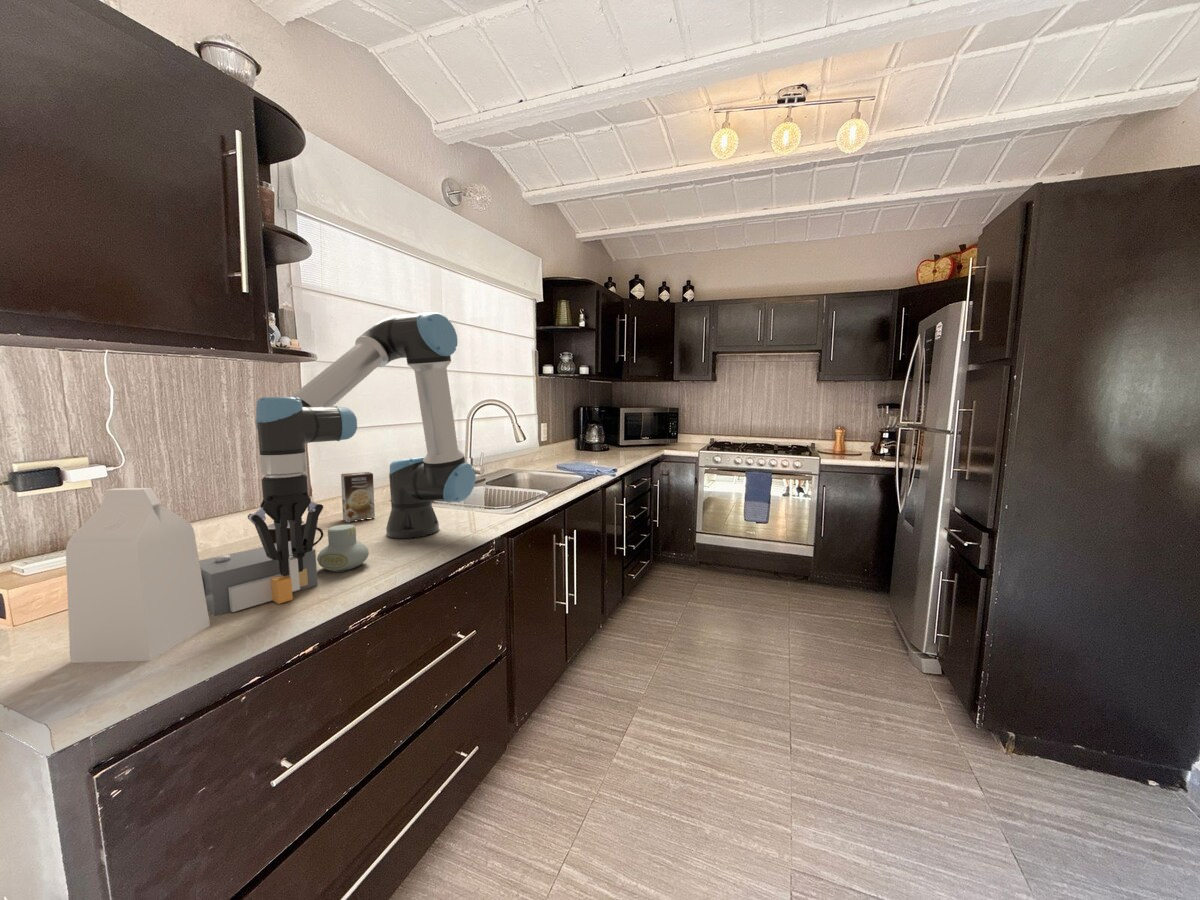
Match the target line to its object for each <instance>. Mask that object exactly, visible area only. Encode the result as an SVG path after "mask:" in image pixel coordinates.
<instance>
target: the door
mask: <svg viewBox="0 0 1200 900" xmlns="http://www.w3.org/2000/svg"><path fill="white" fill-rule="evenodd" d="M228 591H229V602H230V610H231V611H230V612H232V613H234V612H239V611H241V610H245V609H248V608H252V607H255V606H257V605H258V606H259V605H262V604H265V603H267V602H268V603H269V602H271V601H272V602H275V603H277V604H282V603H283V604H284V603H286V602H289V601H292V600H294V597H293V593H292V583H291V578H290V577H288V576H282V575H281V574H278V575H274V576H270V577H266V578H262V579H258V580H255V581H251V582H247V583H243V584H239V585H235V586H232V587H228Z"/></svg>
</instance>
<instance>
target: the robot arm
mask: <svg viewBox="0 0 1200 900" xmlns="http://www.w3.org/2000/svg"><path fill="white" fill-rule="evenodd" d="M354 343H355V345H354V346H352V347H351V348H350V349H349V350H347V351H346V352H345V353H343V355H341V356H339V358H337V359H336V360H335V361H334V362H332V363H331V364H330V365H329V366H328V367H326V368H325V369H323V370H322V371H321V372H320V373H319V374H317V375H316V376H315V377H313V378H312V379H311V380H310V381H308V382H307V383H306V384H305V385H303V386H302V387H301V388H300V389H299V390H297V391H295V392H294V394H292V395H291V396H265V397H260V398H258V400H256V405H255V406H256V407H255V417H256V418H255V427H256V430H257V439H258V448H259V449H258V450H259V462H260V463H259V464H260V474H261V475H263V477H262V478H261V488H262V489H261V490H262V491H261V493H262V501H261V504H260V508H259V509H258V510H256V511H255V512H254V513H249V514H248V515H247V519H248V520H249V521H250V522H251V523H252V525H254V527H255V530H256V532H257V534H258V536H259V540H260V542H261V545H262V547H264V550H265V552H266V555H267V557H268V558H270V559H273V560H279V570H280V574H281V575H282V576H288V577H290V578H291V583H292V592H293V591H296V590H300V583H299V572H302V571H303V557H304V556H305V553H307V552H310V551H312V549H314V546H313V544H314V543H315V538H316V531H317V530H316V528H317V527H318V521H319V516H320V515H321V513H322V511H323V509H324V505H323V504H320V503H317V502H314V501H313V500H312V499H311V497H310V495H309V493H308V491H309V487H308V476H307V474H305V472H307V460H306V444H309V443H323V442H335V441H336V442H341V441H344V440H350V439H352V437H354V436H355V434H356V433H357V431H358V418H357V416H356V414H355V413H354V411H353V410H352V409H350V408H349V407H345V406H337V405H336V404H337V403H339V401H341V400H342V399H343V398H344V397H345V396H346V395H347V394H349V393H350V392H351V391H352V390H353V389H355V387H356V386H357V385H359V383H361V382H362V381H364V380H365V378H367V377H368V376H369V375H370V374H371V373H372V372H373V371H374V370H376V369H377V368H384V367H386V366H387V364H389V363H390V362H392V361H395V360H399V359H404V358H405V359H406V363H407V366H408V367H410V368H411V369H412V370H413V372H414V376H415V384H416V389H417V395H418V403H419V408H420V409H419V410H420V414H421V420H422V421H421V422H422V427H423V428H422V429H423V434H424V441H425V446H426V453H427V454H426V455H425V456H420V457H419V456H418V457H411V458H405V459H398V460H394V461H392V462H391V463H390V464H389V473H388V476H389V489H390V503H391V507H390V508H391V511H390V514H389V517H388V521H387V524H386V528H385V529H386V530H385V533H386V536H387V535H388V536H387V537H389V536H390V537H389V538H392V537H395V538H394V539H413V538H412V537H415V538H421V537H420V536H422V537H425V536H424V535H426V536H429V535H428V534H430V535H433V534H435V533H437V532H439V530H440V524H439V521H438V518H437V516H436V515H437V514H436V513H435V510H434V507H433V502H443V503H444V502H446V503H449V504H450V503H461V502H463V501H465V500H467V499H468V497H469V496H470V495H471V494H472V492H473V489H474V487H475V484H476V471H475V468H474V467H473V465H471V464H470V463H469V462H466V458H465V454H464V452H462V451H460V450H459V447H458V440H457V439H458V438H457V432H456V427H455V425H456V424H455V417H454V412H453V405H452V398H451V391H450V384H449V376H448V375H449V374H448V366H449V365H450V364H451V363H452V358H451V356H452V355H453V354H454V353H455V352H456V350H457V346H458V334H457V331H456V329H455V327H454V325H453V323H452V322H451V321H450V320H449V319H448V317H446V316H445V315H444V314H442V313H440V312H434V311H433V312H431V311H430V312H428V311H427V312H426V311H425V312H418V313H417V312H416V313H410V314H408V313H407V314H399V315H397V314H396V315H392V316H389V317H387V318H385V319H383V320H381V321H379V322H377V323H376V324H375V325H373V326H372V327H370V328H369V329H367V330H366V331H365V332H363V333H362V334H361V335H359V336H358V337H357V338H356V339H355V342H354ZM306 510H307V512H308V513H307V515H306V520H305V521H306V524H305V530H304V535H303V540H302V529H301V524H302V521H303V518H302V517H303V515H304V514H305V512H306ZM266 515H267V517H269V518H270V519H271V520H273V523H274V525H275V531H276V544H277V550H276V548H275V545H274V542H273V540H272V537H271V535H270V532H269V529H268V527H267V525H268V524H267V523H266V522H265V521H266V519H267V517H266ZM288 522H289V524H290V536H291V549H292V554H293V556H290V557H289V548H288V534H287V526H288ZM436 531H437V532H436ZM434 532H435V533H434ZM432 533H433V534H432ZM300 591H301V590H300ZM293 593H294V592H293Z"/></svg>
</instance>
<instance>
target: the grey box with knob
mask: <svg viewBox="0 0 1200 900" xmlns="http://www.w3.org/2000/svg"><path fill="white" fill-rule="evenodd" d="M274 545H275V548H276V550H277V544H274ZM288 548H289V557H290V556H293V554H292V549H291V541H288ZM199 563H200V569H201V575H202V580H203V586H204V592H205V598H206V604H207V610H208V613H210V614H212V616H213V615H214V616H218V615H222V614H225V613H229V612H232V611H231V610H230V602H229V591H228V587H232V586H235V585H239V584H243V583H247V582H251V581H255V580H258V579H262V578H266V577H270V576H274V575H278V574H280V570H279V560H273V559H270V558H268V557H267V555H266V552H265V550H264V547H263V546H261V547H257V548H256V547H255V548H252V549H247V550H243V551H238V552H232V553H228V554H221V555H217V556H215V557H209V558H205V559H201V560H200V559H199ZM317 568H318V567H317V555H316V549H315V548H313V549H312V551H310V552H307V553H305V556H304V557H303V571H302V572H299V583H300V590H296V591H293V592H292V594H293V593H296V592H299V591H302V590H306V589H309V588H313V587H316V586H319V585H318V584H319V583H318V573H317V571H318V569H317Z"/></svg>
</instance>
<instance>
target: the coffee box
mask: <svg viewBox="0 0 1200 900" xmlns="http://www.w3.org/2000/svg"><path fill="white" fill-rule="evenodd" d="M340 477H341V478H340V480H341V482H340V483H341V484H340V485H341V501H342V502H341V503H342V520H343V521H344V520H345V521H346V522H347V523H350V522H349V521H355V520H361V519H367V518H374V517H375V518H376V514H375V512H376V511H375V493H374V492H375V491H374V490H375V488H374V473H372V472H369V471H363V472H352V473H349V472H348V473H340ZM345 521H344V522H345ZM346 522H345V523H346ZM355 522H356V521H355Z"/></svg>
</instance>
